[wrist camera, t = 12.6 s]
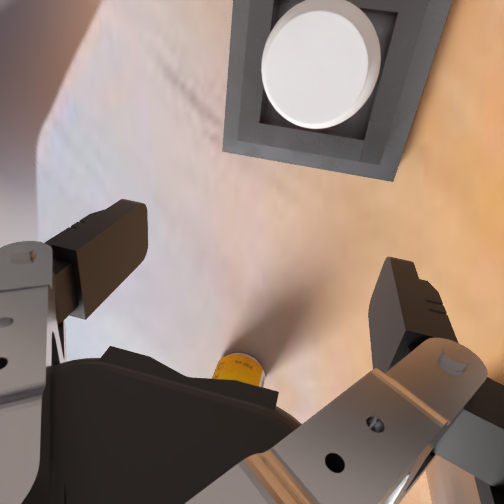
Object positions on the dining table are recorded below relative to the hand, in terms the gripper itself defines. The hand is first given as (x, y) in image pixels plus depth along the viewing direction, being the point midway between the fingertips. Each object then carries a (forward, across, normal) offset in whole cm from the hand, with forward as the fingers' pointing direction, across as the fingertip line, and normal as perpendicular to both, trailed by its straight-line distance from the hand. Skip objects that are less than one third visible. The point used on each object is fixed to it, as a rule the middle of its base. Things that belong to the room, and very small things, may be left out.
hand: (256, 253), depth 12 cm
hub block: (+21, 0, -5) cm, 22 cm away
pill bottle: (+19, 0, -5) cm, 20 cm away
